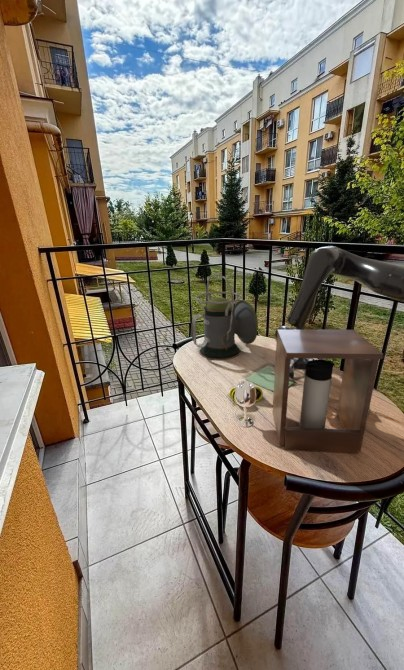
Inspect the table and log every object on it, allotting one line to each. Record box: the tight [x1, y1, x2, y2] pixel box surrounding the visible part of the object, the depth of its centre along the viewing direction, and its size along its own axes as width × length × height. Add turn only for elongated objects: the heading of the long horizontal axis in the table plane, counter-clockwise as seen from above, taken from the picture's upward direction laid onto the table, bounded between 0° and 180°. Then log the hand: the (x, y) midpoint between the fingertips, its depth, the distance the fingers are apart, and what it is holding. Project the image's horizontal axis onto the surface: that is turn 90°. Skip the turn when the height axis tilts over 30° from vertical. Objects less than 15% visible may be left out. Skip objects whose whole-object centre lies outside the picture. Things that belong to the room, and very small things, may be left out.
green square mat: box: [244, 365, 296, 393], centre depth 102 cm, size 14×14×1 cm
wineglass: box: [235, 380, 257, 428], centre depth 78 cm, size 6×6×12 cm
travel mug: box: [299, 358, 335, 429], centre depth 72 cm, size 6×7×20 cm
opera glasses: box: [228, 385, 264, 406], centre depth 89 cm, size 10×5×5 cm, turn 106°
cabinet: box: [272, 329, 384, 455], centre depth 71 cm, size 15×19×26 cm
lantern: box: [190, 272, 259, 361], centre depth 122 cm, size 25×29×35 cm
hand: (307, 376), depth 80 cm, fingers open, 8 cm apart
